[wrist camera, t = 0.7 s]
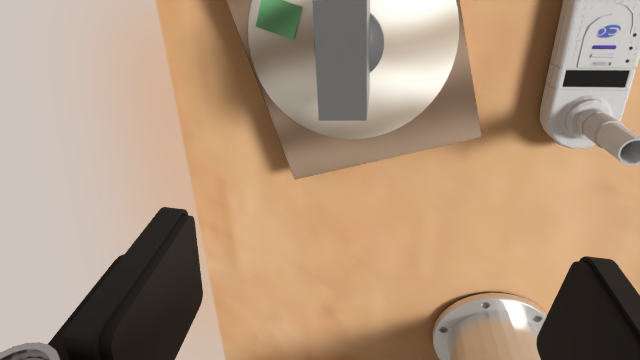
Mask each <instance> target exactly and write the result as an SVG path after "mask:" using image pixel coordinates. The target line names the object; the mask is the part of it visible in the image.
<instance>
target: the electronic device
mask: <svg viewBox="0 0 640 360" xmlns="http://www.w3.org/2000/svg"><path fill="white" fill-rule="evenodd" d="M639 58H640V0H563V3H562V8H561V13H560V17H559V22H558V27H557V32H556V36H555V41H554V46H553V51H552V55H551V60H550V62H551V63H550V65H549V70H548V74H547V79H546V84H545V89H544V93H543V98H542V103H541V108H540V122H541V125H542V127H543V129H544V131H545V132H546V133H547V134H548V135H549V136H550V137H551V138H552V139H553V140H555V141H556V142H557V143H558V144H559V145H562V146H565V147H568V148H571V149H583V148H587V147H591V146H595V145H597V146H599V147H601V148H604V149H605V150H607V151H608V152H609V153H610V154H612V155H613V156H614V157H615V158H617V159H618V160H619V161H620V162H622V163H623V164H625V165H636V164H639V163H640V137H639V136H638V135H636V134H635V133H633V132H632V131H630V130H628V129H627V128H626V127H625V125H624V124H623V123H621V122H620V120H621V118H622V115H623V112H624V108H625V105H626V102H627V99H628V96H629V92H630V90H629V89H630V88H631V85H632V81H633V78H634V75H635V71H636V67H637V65H638V61H639Z"/></svg>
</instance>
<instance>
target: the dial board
mask: <svg viewBox="0 0 640 360" xmlns="http://www.w3.org/2000/svg"><path fill="white" fill-rule="evenodd" d="M226 1H227V3H228V6H229V9H230V11H231V14H232V16H233V19H234V22H235V24H236V27H237V30H238V32H239V35H240V37H241V40H242V43H243V45H244V48H245V51H246V53H247V56H248V58H249V61H250V64H251V66H252V69H253V72H254V74H255V77H256V79H257V82H258V85H259V87H260V90H261V93H262V95H263V98H264V100H265V103H266V106H267V108H268V111H269V114H270V116H271V119H272V121H273V124H274V127H275V129H276V132H277V135H278V137H279V140H280V142H281V145H282V148H283V150H284V153H285V156H286V158H287V161H288V163H289V166H290V169H291V171H292V174H293V177H294V179H299V178H304V177H308V176H313V175H317V174H321V173H326V172H330V171H335V170H339V169H343V168H348V167H352V166H357V165H361V164H365V163H370V162H374V161H378V160H383V159H387V158H392V157H396V156H400V155H405V154H409V153H414V152H418V151H422V150H427V149H431V148H436V147H440V146H444V145H449V144H453V143H458V142H462V141H466V140H471V139H475V138H479V137H482V136H481V130H480V124H479V118H478V112H477V106H476V99H475V93H474V87H473V81H472V75H471V69H470V62H469V56H468V50H467V44H466V38H465V32H464V25H463V19H462V13H461V7H460V1H459V0H370V13H372V14H373V15H374V16H375V17H376V19H377V20H378V21H379V23H380V25H381V27H382V30H383V34H384V50H383V54H382V57H381V60H380V62H379V63H378V65H377V66H376V67H375V69H374V70H373V71H372V72H370V94H369V103H368V112H367V121H319V116H318V97H317V78H316V59H315V51H314V22H313V3H312V0H226Z"/></svg>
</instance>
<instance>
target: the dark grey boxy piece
mask: <svg viewBox="0 0 640 360" xmlns="http://www.w3.org/2000/svg"><path fill="white" fill-rule="evenodd" d="M312 3H313V22H314V51H315V59H316V78H317V97H318V116H319V121H367V112H368V103H369V94H370V72H372V71H373V70H374V69H375V67H376V66H377V65H378V63H379V62H380V60H381V57H382V54H383V50H384V34H383V30H382V27H381V25H380V23H379V21H378V20H377V19H376V17H375V16H374V15H373V14H372V13H370V0H312Z"/></svg>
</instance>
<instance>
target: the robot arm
mask: <svg viewBox="0 0 640 360" xmlns="http://www.w3.org/2000/svg"><path fill="white" fill-rule="evenodd" d="M202 296H203V290H202V281H201V273H200V264H199V255H198V247H197V238H196V229H195V221H194V218H193V216H188V213H187V211H186V210H184V209H175V208H167V207H163V208H161V209H160V210H159V211H158V213H157V214H156V215H155V217H154V218H153V219H152V220H151V222H150V223H149V224H148V226H147V227H146V228H145V229H144V230H143V232H142V233H141V234H140V236H139V237H138V238H137V239H136V241H135V242H134V243H133V244H132V246H131V247H130V248H129V250H128V251H127V252H126V253H125V255H121V256H119V257H118V258H117V259H116V260H115V261H114V262H113V263H112V265H111V266H110V267H109V268H108V270H107V271H106V272H105V274H104V275H103V276H102V277H101V279H100V280H99V281H98V282H97V283H96V285H95V286H94V287H93V288H92V290H91V291H90V292H89V294H88V295H87V296H86V297H85V299H84V300H83V301H82V302H81V303H80V305H79V306H78V307H77V308H76V310H75V311H74V312H73V313H72V315H71V316H70V317H69V318H68V320H67V321H66V322H65V323H64V325H63V326H62V327H61V329H60V330H59V331H58V332H57V333H56V335H55V336H54V337H53V338H52V340H51V341H50V342H49V343H48V345H47V344H43V343H26V344H22V345H18V346H15V347H12V348H10V349H7V350H5V351H3V352H1V353H0V360H175V358H176V356H177V354H178V352H179V350H180V347H181V345H182V343H183V341H184V339H185V337H186V335H187V333H188V331H189V329H190V326H191V324H192V322H193V320H194V318H195V316H196V314H197V311H198V310H199V307H200V305H201V301H202ZM432 337H433V346H434V349H435V353H436V354H437V356H438V358H439V359H440V360H640V295H639V294H638V293H637V291H636V290H635V288H634V287H633V286H632V284H631V283H630V282H629V280H628V279H627V278H626V276H625V275H624V273H623V272H622V271H621V269H620V268H619V267H618V265H617V264H616V263H615V262H614V261H613V260H610V259H604V258H595V257H583V258H581V259H580V261H579V262H574V263H573V264H572V265H571V267H570V269H569V271H568V273H567V275H566V277H565V280H564V282H563V284H562V286H561V288H560V290H559V292H558V294H557V296H556V298H555V300H554V302H553V304H552V307H551V309H550V311H549V313H548V315H546V313H545V312H544V311H543V310H542V309H541V308H540V307H539V306H537V305H536V304H535V303H533V302H531V301H529V300H527V299H525V298H522V297H519V296H516V295H511V294H505V293H485V294H478V295H474V296H469V297H466V298H464V299H462V300H459V301H457V302H455V303H454V304H452V305H450V306H449V307H448V308H447V309H445V310H444V311H443V312H442V313H441V314H440V316H439V317H438V319H437V320H436V322H435V325H434V327H433V333H432Z"/></svg>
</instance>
